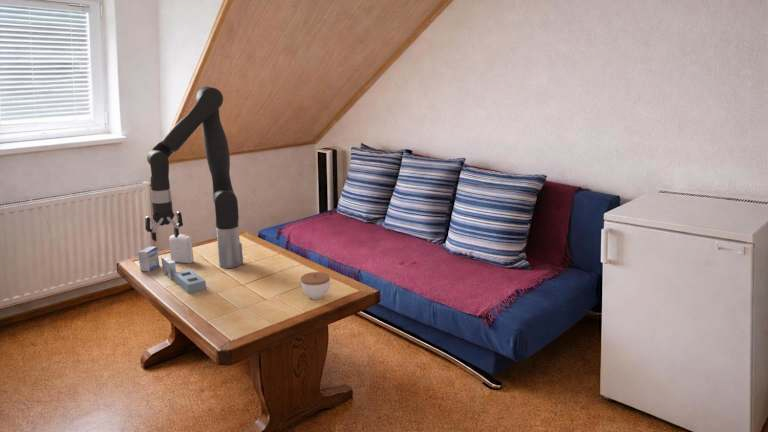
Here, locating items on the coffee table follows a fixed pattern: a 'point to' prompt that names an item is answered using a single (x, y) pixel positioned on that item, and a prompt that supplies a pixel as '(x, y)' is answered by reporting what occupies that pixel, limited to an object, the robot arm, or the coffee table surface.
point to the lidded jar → (315, 284)
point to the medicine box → (148, 258)
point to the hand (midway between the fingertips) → (165, 238)
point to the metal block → (168, 266)
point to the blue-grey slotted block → (190, 281)
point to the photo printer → (181, 249)
